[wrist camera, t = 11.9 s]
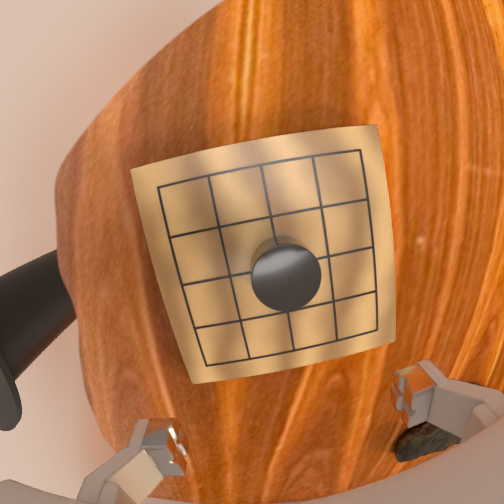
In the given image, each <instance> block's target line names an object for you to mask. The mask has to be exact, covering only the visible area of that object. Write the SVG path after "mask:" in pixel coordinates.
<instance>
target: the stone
mask: <svg viewBox="0 0 504 504" xmlns="http://www.w3.org/2000/svg"><path fill="white" fill-rule="evenodd" d="M460 441H461V438H460V437H458V436H456V435H454V434H452V433H450V432H448V431H445V430H443V429H441V428H439V427H437V426H435V425H433V424H431V423H429V422H426V423H425V424H423V425H422V426H421V427H419V428H416V429H413V430H411V431H410V432H408V433H406V434H405V435H404V436H403V437H402V438H401V440H400V442H399V444H398V445H397V447H396V450H395V456H396V459H397V461H398V462H405V461H410V460H413V459H416V458H418V457H420V456H424V455H427V454H430V453H434V452H439V451H442V450H445V449H447V448H448V447H450V446H452V445H454V444H459V443H460Z"/></svg>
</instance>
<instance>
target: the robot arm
mask: <svg viewBox="0 0 504 504" xmlns="http://www.w3.org/2000/svg"><path fill="white" fill-rule="evenodd" d="M392 381H393V383H394V385H393V387H392V388H391V400H392V403H393V406H394V407H395V409H396V410H397V411H400V412H402V413H401V419H402V420H403V422H404V423H405V425H406V426H407V428H410V427H413V426H415V425H418V424H420V423H423V422H425V421H427V422H429V423H431V424H433V425H435V426H437V427H439V428H441V429H443V430H445V431H448V432H450V433H452V434H454V435H456V436H458V437H460V438H461V441H460V443H459V444H458V445H456V446H454V447H452V448H451V449H449V450H447V451H445V452H443V453H441V454H439V455H437V456H435V457H433V458H431V459H429V460H427V461H425V462H423V463H420V464H418V465H416V466H414V467H411V468H409V469H407V470H404V471H402V472H400V473H397V474H395V475H392V476H390V477H387V478H384V479H382V480H379V481H376V482H373V483H370V484H367V485H364V486H361V487H358V488H355V489H352V490H348V491H345V492H342V493H338V494H334V495H330V496H327V497H323V498H318V499H314V500H309V501H305V502H300V503H295V504H504V394H503V393H502V392H501V391H500V390H496V389H491V388H487V387H483V386H479V385H475V384H471V383H467V382H463V381H459V380H455V379H450V380H448V379H447V377H446V376H445V375H444V374H443V373H442V372H441V371H440V370H439V369H438V368H437V367H436V366H435V365H434V364H433V363H432V362H431V361H430V360H429V359H425V360H422V361H420V362H418V363H416V364H413V365H410V366H408V367H405V368H403V369H400V370H397V371H395V372H393V374H392ZM188 449H189V448H188V440H187V437H186V435H185V433H184V432H183V431H181V430H180V423H179V421H178V420H177V419H176V418H158V419H139V420H138V421H137V423H136V425H135V428H134V431H133V434H132V437H131V439H130V442H129V445H128V448H123V449H122V450H121V451H120V452H118V453H117V454H116V455H115V456H113V457H112V458H111V459H109V460H108V461H107V462H106V463H104V464H103V465H101V466H100V467H99V468H98V469H96V470H95V471H94V472H92V473H91V474H89V475H88V476H87V477H86V478H85V479H84V482H83V484H82V486H81V489H80V491H79V494H78V496H77V499H76V500H75V499H71V498H66V497H63V496H59V495H56V494H52V493H48V492H45V491H42V490H39V489H36V488H32V487H30V486H27V485H24V484H22V483H19V482H16V481H13V480H4V481H1V482H0V504H142V502H143V501H144V500H145V499H146V498H147V497H148V496H149V494H150V493H151V492H152V491H153V490H154V489H155V487H156V486H157V485H158V484H159V483H160V482H161V480H162V479H163V478H164V476H185V471H186V464H187V462H186V461H185V459H184V457H185V456H186V455H187V454H188Z"/></svg>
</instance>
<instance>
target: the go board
mask: <svg viewBox="0 0 504 504" xmlns="http://www.w3.org/2000/svg"><path fill="white" fill-rule="evenodd" d="M130 171H131V176H132V181H133V186H134V191H135V195H136V200H137V204H138V209H139V213H140V217H141V222H142V226H143V230H144V234H145V238H146V242H147V246H148V249H149V253H150V257H151V261H152V264H153V268H154V271H155V275H156V278H157V282H158V285H159V288H160V292H161V295H162V298H163V302H164V305H165V308H166V311H167V314H168V317H169V320H170V323H171V326H172V329H173V332H174V335H175V338H176V341H177V344H178V347H179V350H180V353H181V355H182V358H183V361H184V364H185V366H186V369H187V372H188V374H189V377H190V379H191V382H192V384H198V383H207V382H214V381H222V380H229V379H236V378H242V377H249V376H255V375H260V374H266V373H271V372H277V371H282V370H287V369H292V368H297V367H301V366H306V365H310V364H315V363H319V362H323V361H327V360H331V359H335V358H339V357H343V356H347V355H351V354H354V353H358V352H362V351H365V350H369V349H372V348H375V347H379V346H382V345H385V344H389V343H392V342H395V328H396V289H395V262H394V245H393V232H392V221H391V211H390V203H389V194H388V187H387V180H386V173H385V166H384V160H383V154H382V149H381V143H380V138H379V133H378V128H377V124H373V125H360V126H349V127H339V128H330V129H321V130H313V131H306V132H298V133H292V134H285V135H279V136H272V137H267V138H261V139H255V140H250V141H244V142H239V143H234V144H229V145H224V146H220V147H215V148H211V149H206V150H202V151H197V152H193V153H189V154H185V155H181V156H177V157H173V158H169V159H165V160H162V161H158V162H154V163H151V164H147V165H144V166H140V167H137V168H134V169H131V170H130ZM275 236H290V237H294V238H296V239H298V240H300V241H301V242H302V243H304V244H305V245H306V247H307V248H308V249H309V250H310V251H311V252H312V253H313V254H314V255H315V257H316V258H317V260H318V262H319V264H320V267H321V272H322V279H321V285H320V287H319V290H318V292H317V294H316V295H315V297H314V298H313V299H312V300H311V301H310V302H309V303H308V304H306V305H305V306H303V307H301V308H299V309H296V310H292V311H277V310H273V309H271V308H269V307H267V306H265V305H264V304H262V303H261V302H260V301H259V300H258V298H257V297H256V295H255V294H254V291H253V289H252V285H251V275H250V262H251V258H252V255H253V253H254V252H255V250H256V249H257V247H258V246H259V245H260V244H261V243H263V242H264V241H266V240H267V239H269V238H272V237H275Z"/></svg>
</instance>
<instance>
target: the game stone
mask: <svg viewBox="0 0 504 504" xmlns="http://www.w3.org/2000/svg"><path fill="white" fill-rule="evenodd" d="M250 275H251V285H252V289H253V291H254V294H255V295H256V297H257V298H258V300H259V301H260V302H261V303H262V304H264V305H265V306H267V307H269V308H271V309H273V310H277V311H292V310H296V309H299V308H301V307H303V306H305V305H306V304H308V303H309V302H310V301H311V300H312V299H313V298H314V297H315V295H316V294H317V292H318V290H319V287H320V285H321V279H322V272H321V267H320V264H319V262H318V260H317V258H316V257H315V255H314V254H313V253H312V252H311V251H310V250H309V249H308V248H307V247H306V245H305V244H304V243H302V242H301V241H300V240H298V239H296V238H294V237H290V236H275V237H272V238H269V239H267V240H266V241H264V242H263V243H261V244H260V245H259V246H258V247H257V249H256V250H255V252H254V253H253V255H252V258H251V262H250Z"/></svg>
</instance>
